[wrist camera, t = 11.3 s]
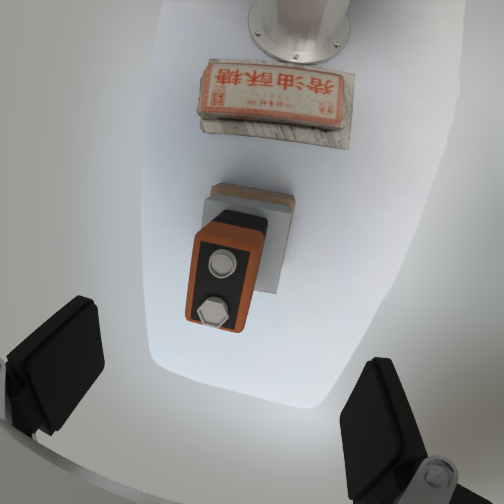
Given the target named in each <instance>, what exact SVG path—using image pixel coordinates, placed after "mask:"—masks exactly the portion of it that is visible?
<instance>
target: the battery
mask: <svg viewBox="0 0 504 504" xmlns="http://www.w3.org/2000/svg"><path fill="white" fill-rule="evenodd" d="M267 228H268V220H267V219H266V218H264V217H260V216H255V215H251V214H246V213H241V212H236V211H232V210H223V211H222V212H221V213H220V214H219V215H217V216H216V217H215V218H214V219H213V220H211V221H210V222H209V223H208V224H207V225H206V226H204V227H203V228H202V229H201V230H200V231H199V232H198V233H197V234H196V235H195V239H194V245H193V252H192V259H191V267H190V275H189V283H188V291H187V300H186V309H185V317H186V319H187V320H188V321H191V322H194V323H198V324H202V325H206V326H210V327H214V328H218V329H222V330H226V331H230V332H235V333H240V332H242V331H243V329H244V326H245V322H246V319H247V315H248V311H249V307H250V303H251V299H252V295H253V291H254V287H255V283H256V278H257V274H258V269H259V265H260V260H261V256H262V251H263V246H264V242H265V237H266V233H267Z"/></svg>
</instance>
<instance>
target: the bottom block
mask: <svg viewBox="0 0 504 504" xmlns="http://www.w3.org/2000/svg"><path fill="white" fill-rule="evenodd" d="M216 193H217V194H224V195H231V196H237V197H243V198H249V199H256V200H262V201H267V202H273V203H279V204H285V205H290V206H291V212H292V214H293V209H294V204H295V199H294V196H292V195H287V194H282V193H276V192H271V191H265V190H260V189H254V188H248V187H242V186H236V185H230V184H224V183H220V184H217V185H215V186H212V189H211V196H212V195H214V194H216ZM211 196H210V197H211ZM291 220H292V215H291ZM290 225H291V221H290ZM289 230H290V226H289ZM288 234H289V231H288ZM287 239H288V237H287ZM286 244H287V242H286ZM285 249H286V247H285ZM284 254H285V252H284ZM283 259H284V257H283ZM282 263H283V262H282Z"/></svg>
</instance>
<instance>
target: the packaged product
mask: <svg viewBox="0 0 504 504" xmlns="http://www.w3.org/2000/svg"><path fill="white" fill-rule="evenodd" d="M354 76H355V74H351V73H346V72H341V71H337V70H332V69H324V68H318V67H312V66H306V65H299V64H291V63H283V62H265V61H258V60H239V59H209V64H208V66H207V68H206V70H205V71H204V72H203V76H202V78H201V79H200V96H199V105H198V108H197V113H198V114H199V116H201V121H200V129H201V130H202V132H204V133H215V134H233V135H242V136H250V137H262V138H269V139H276V140H283V141H291V142H298V143H305V144H311V145H318V146H324V147H330V148H338V149H349V140H350V130H351V120H352V109H353V95H354Z"/></svg>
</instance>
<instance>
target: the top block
mask: <svg viewBox="0 0 504 504" xmlns="http://www.w3.org/2000/svg"><path fill="white" fill-rule="evenodd" d="M223 210H232V211H236V212H241V213H246V214H251V215H255V216H260V217H264V218H266V219H267V220H268V228H267V233H266V237H265V242H264V246H263V251H262V256H261V260H260V265H259V269H258V274H257V278H256V283H255V287H254V290H256V291H261V292H267V293H272V294H276V292H277V287H278V283H279V278H280V273H281V268H282V262H283V257H284V252H285V247H286V242H287V237H288V231H289V226H290V221H291V215H292V212H291V206H290V205H285V204H279V203H273V202H267V201H262V200H256V199H249V198H243V197H237V196H231V195H224V194H217V193H216V194H214V195H212V196H211V197H209V198H207V199H205V202H204V211H203V219H202V228H203V227H204V226H206V225H207V224H208V223H209V222H210V221H211V220H213V219H214V218H215V217H216V216H217V215H219V214H220V213H221V212H222V211H223ZM202 228H201V229H202Z"/></svg>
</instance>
